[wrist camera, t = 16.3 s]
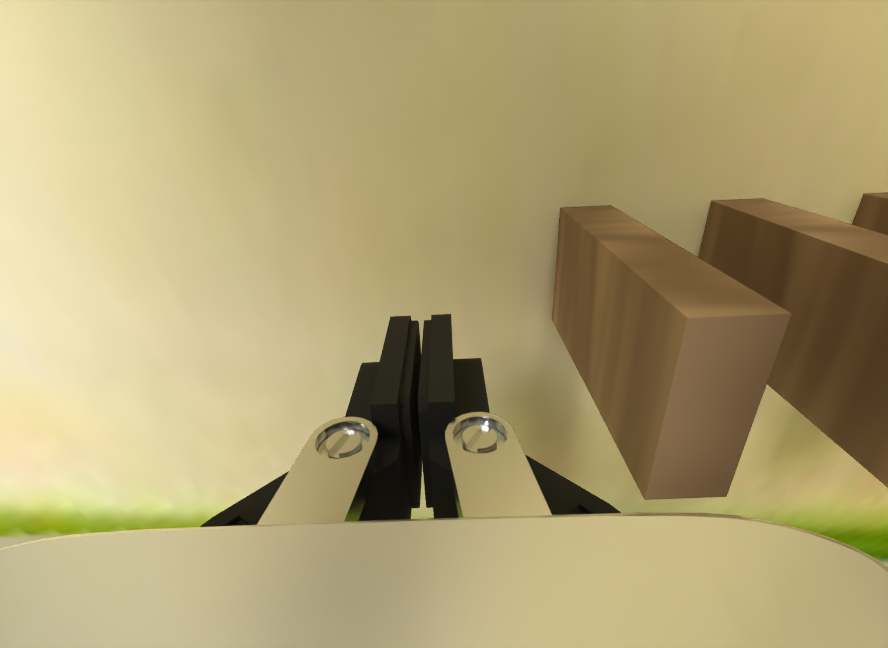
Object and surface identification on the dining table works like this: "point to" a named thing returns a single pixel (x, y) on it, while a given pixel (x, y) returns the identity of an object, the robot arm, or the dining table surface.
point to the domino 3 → (873, 213)
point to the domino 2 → (817, 314)
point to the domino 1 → (663, 349)
